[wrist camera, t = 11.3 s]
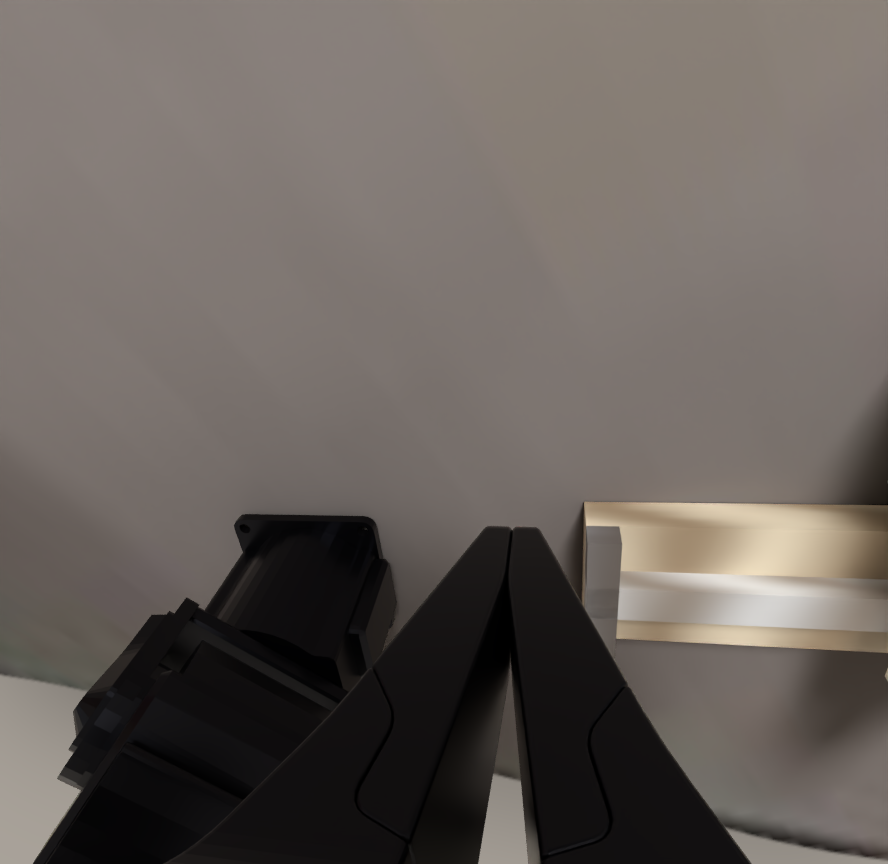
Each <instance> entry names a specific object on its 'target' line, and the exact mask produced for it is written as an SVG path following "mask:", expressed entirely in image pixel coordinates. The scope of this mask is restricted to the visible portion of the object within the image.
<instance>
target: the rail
mask: <svg viewBox="0 0 888 864" xmlns="http://www.w3.org/2000/svg"><path fill="white" fill-rule="evenodd" d="M582 604H583V606H584V608H585V609H586V611H587V613H588V615H589V616H590V618H591V620H592V622H593V623H594V625H595V627H596V629H597V630H598V632H599V634H600V636H601V637H602V639H603V641H604V643H605V644H606V646H607V648H608V650H609V651H610V653H611V655H612V657H613V658H615V649H616V639H635V640H654V641H673V642H691V643H710V644H729V645H748V646H767V647H786V648H805V649H824V650H843V651H862V652H881V653H888V505H815V504H727V503H638V502H584V528H583V573H582Z"/></svg>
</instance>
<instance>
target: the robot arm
mask: <svg viewBox="0 0 888 864" xmlns="http://www.w3.org/2000/svg"><path fill="white" fill-rule="evenodd" d="M245 525H247V526H249V527H247V526H245ZM234 527H235V531H236V534H237V537H238V539H239V542H240V545H241V548H242V551H243V553H242V555H241V556H240V558H239V559H238V561H237V562H236V564H235V565H234V567H233V568H232V570H231V571H230V573H229V574H228V576H227V577H226V579H225V580H224V582H223V583H222V585H221V586H220V588H219V589H218V591H217V592H216V594H215V595H214V597H213V598H212V600H211V601H210V603H209V604H208V606H207V607H206V609H205V610H203V609H201V608H199V607H198V606H199V604H197V603H195V602H194V601H192V600H190V599H188V598H186V599H185V600H184V602H183V603H182V604H181V606H180V607H179V608H178V610H177V611H176V612H175V614H174V613H172V612H170V611H169V612H168V613H167V615H151V617H150V618H149V619H148V620H147V622H146V623H145V624H144V626H143V627H142V628H141V630H140V631H139V632H138V634H137V635H136V636H135V637H134V639H133V640H132V641H131V643H130V644H129V645H128V646H127V648H126V649H125V650H124V651H123V653H122V654H121V655H120V656H119V657H118V658H117V660H116V661H115V662H114V663H113V664H112V665H111V666H110V667H109V668H108V670H107V671H106V672H105V673H104V674H103V675H102V676H101V677H100V679H99V680H98V681H97V682H96V683H95V684H94V685H93V686H92V688H91V689H90V690H89V691H88V692H87V693H86V694H85V696H84V697H83V698H82V700H81V701H80V702H79V704H78V705H77V707H76V708H75V710H74V711H73V715H74V722H75V730H76V739H75V740H74V741H73V743H72V745H71V746H70V748H69V751H72V752H73V755H72V756H71V758H70V759H69V761H68V762H67V764H66V765H65V767H64V768H63V770H62V771H61V773H60V775H59V776H58V778H57V779H58V780H60V781H63V782H65V783H67V784H69V785H71V786H73V787H75V788H77V789H79V790H81V791H80V793H79V794H78V796H77V797H76V799H75V800H74V801H73V803H72V804H71V806H70V807H69V809H68V810H67V812H66V813H65V815H64V816H63V818H62V819H61V821H60V822H59V824H58V825H57V827H56V828H55V830H54V831H53V833H52V834H51V836H50V837H49V839H48V840H47V842H46V844H45V845H44V847H43V849H42V850H41V852H40V853H39V855H38V856H37V858H36V859H35V861H34V863H33V864H478V861H479V854H480V849H481V843H482V837H483V831H484V824H485V819H486V812H487V807H488V801H489V795H490V789H491V782H492V776H493V770H494V764H495V758H496V752H497V746H498V740H499V734H500V728H501V722H502V716H503V710H504V704H505V698H506V692H507V686H508V679H509V672H510V662H511V668H512V684H513V696H514V707H515V718H516V729H517V741H518V752H519V763H520V774H521V786H522V796H523V808H524V820H525V831H526V842H527V852H528V864H751V862H750V861H749V860H748V858H747V857H746V856H745V854H744V853H743V851H742V850H741V849H740V847H739V846H738V845H737V843H736V842H735V841H734V840H733V838H732V837H731V835H730V834H729V833H728V831H727V830H726V829H725V827H724V826H723V824H722V823H721V822H720V820H719V819H718V818H717V816H716V815H715V814H714V812H713V811H712V810H711V808H710V807H709V806H708V804H707V803H706V802H705V800H704V799H703V798H702V796H701V795H700V793H699V792H698V791H697V789H696V788H695V787H694V785H693V784H692V783H691V781H690V780H689V778H688V777H687V776H686V774H685V773H684V771H683V770H682V768H681V767H680V766H679V764H678V763H677V761H676V760H675V758H674V757H673V756H672V754H671V753H670V751H669V750H668V748H667V747H666V746H665V744H664V742H663V741H662V739H661V738H660V736H659V734H658V733H657V731H656V729H655V728H654V726H653V725H652V723H651V721H650V720H649V718H648V717H647V715H646V713H645V712H644V710H643V708H642V707H641V705H640V703H639V701H638V700H637V698H636V696H635V694H634V693H633V691H632V689H631V688H630V687H628V683H627V681H626V679H625V677H624V676H623V674H622V672H621V670H620V669H619V667H618V665H617V663H616V662H615V660H614V658H613V657H612V655H611V653H610V651H609V650H608V648H607V646H606V644H605V643H604V641H603V639H602V637H601V636H600V634H599V632H598V630H597V629H596V627H595V625H594V623H593V622H592V620H591V618H590V616H589V615H588V613H587V611H586V609H585V608H584V606H583V604H582V602H581V601H580V599H579V597H578V595H577V594H576V592H575V590H574V588H573V587H572V585H571V583H570V582H569V580H568V578H567V576H566V575H565V573H564V571H563V569H562V568H561V566H560V564H559V562H558V561H557V559H556V557H555V555H554V554H553V552H552V550H551V548H550V547H549V545H548V543H547V541H546V540H545V538H544V536H543V534H542V533H541V531H540V530H539V529H538V528H536V527H515V528H514V529H513V530H511V528H510V527H504V526H488V527H486V528H484V530H483V531H482V532H481V533H480V534H479V536H478V537H477V538H476V539H475V541H474V542H473V543H472V544H471V545H470V547H469V548H468V549H467V550H466V551H465V553H464V554H463V555H462V556H461V558H460V559H459V560H458V561H457V562H456V564H455V565H454V566H453V567H452V568H451V570H450V571H449V572H448V573H447V575H446V576H445V577H444V578H443V579H442V581H441V582H440V583H439V584H438V585H437V587H436V588H435V589H434V590H433V592H432V593H431V594H430V595H429V596H428V598H427V599H426V600H425V601H424V603H423V604H422V605H421V606H420V607H419V609H418V610H417V611H416V612H415V613H414V615H413V616H412V617H411V618H410V620H409V621H408V622H407V623H406V624H405V626H404V627H403V628H402V629H401V630H400V632H399V633H398V634H397V635H396V637H395V638H394V639H393V640H392V641H391V643H390V644H389V645H388V646H387V647H386V649H385V650H384V651H383V652H382V650H383V646H384V643H385V640H386V636H387V633H388V630H389V628H391V626H392V625H393V621H394V609H395V606H396V597H395V592H394V586H393V581H392V576H391V571H390V566H389V563H388V562H387V561H386V559H383V556H382V551H381V546H380V541H379V536H378V531H377V526H376V524H375V522H374V521H373V520H372V519H371V518H369V517H365V516H318V515H259V514H245V515H241V516H240V517H239V518H238V520H237V521H236V522H235V525H234ZM361 527H365V528H367V529H368V530H364V529H362V528H361ZM381 653H382V654H381Z"/></svg>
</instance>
